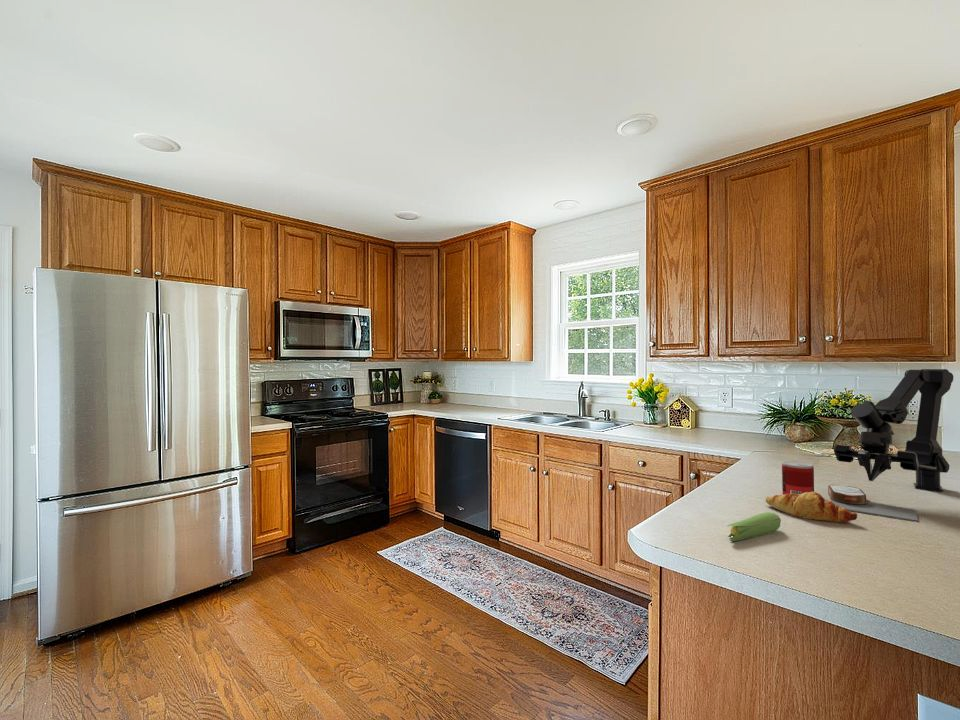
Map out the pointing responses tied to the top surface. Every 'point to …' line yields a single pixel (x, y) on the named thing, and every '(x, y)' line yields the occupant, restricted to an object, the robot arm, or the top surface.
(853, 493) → the tin
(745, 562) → the top surface
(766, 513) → the edible corn
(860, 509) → the mat
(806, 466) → the canned food
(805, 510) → the croissant
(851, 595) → the top surface
